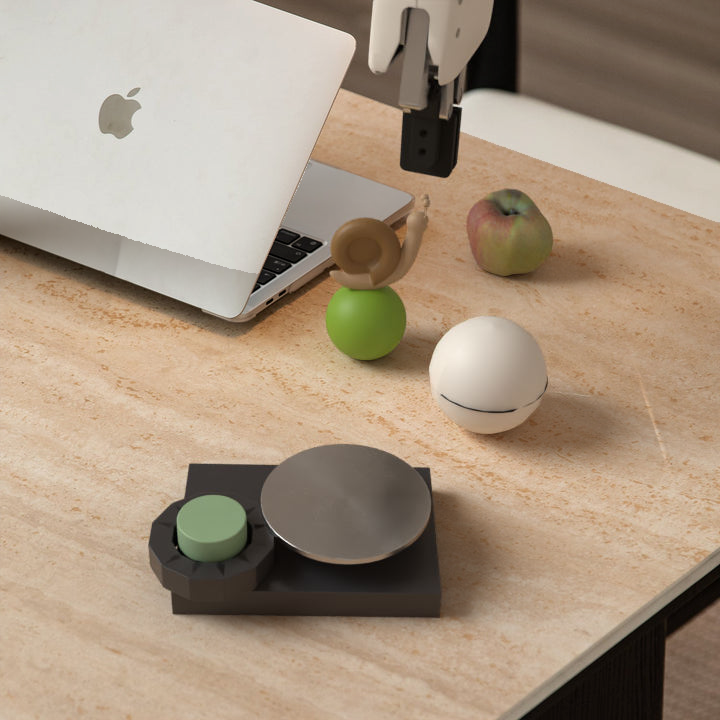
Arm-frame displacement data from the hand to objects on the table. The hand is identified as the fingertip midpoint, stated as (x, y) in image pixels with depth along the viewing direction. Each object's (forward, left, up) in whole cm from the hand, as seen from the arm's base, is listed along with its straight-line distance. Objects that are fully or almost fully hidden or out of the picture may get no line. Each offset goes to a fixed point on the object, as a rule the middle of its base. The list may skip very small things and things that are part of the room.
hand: (428, 168), depth 76 cm
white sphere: (+5, -7, -15) cm, 17 cm away
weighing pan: (-5, -18, -11) cm, 22 cm away
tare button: (-12, -21, -11) cm, 27 cm away
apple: (+7, +13, -15) cm, 21 cm away
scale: (-7, -18, -14) cm, 24 cm away
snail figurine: (-3, +1, -15) cm, 15 cm away
